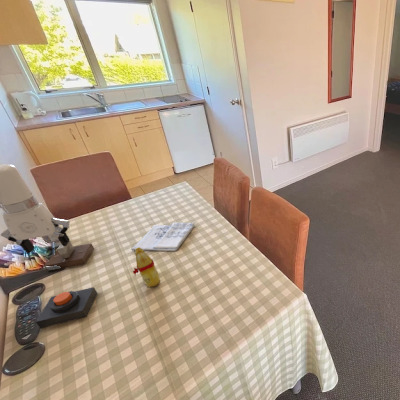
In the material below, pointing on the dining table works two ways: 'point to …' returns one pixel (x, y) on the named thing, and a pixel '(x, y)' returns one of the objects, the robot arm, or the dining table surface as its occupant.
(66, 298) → the button
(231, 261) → the dining table surface
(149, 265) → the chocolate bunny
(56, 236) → the bath foam
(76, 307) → the button housing
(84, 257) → the dial panel
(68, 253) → the knob
